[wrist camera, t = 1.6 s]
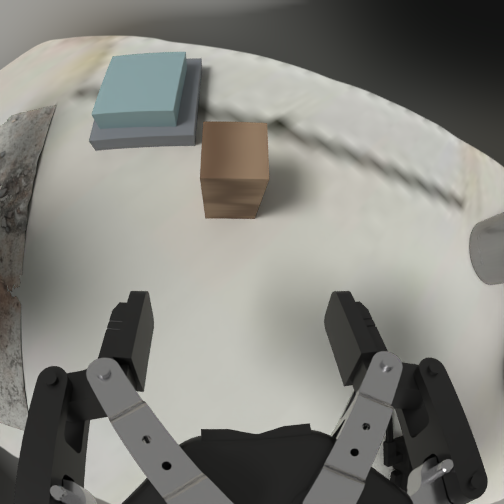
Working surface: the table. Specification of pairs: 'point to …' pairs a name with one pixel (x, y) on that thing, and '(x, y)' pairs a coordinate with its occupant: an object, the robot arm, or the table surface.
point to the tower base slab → (158, 135)
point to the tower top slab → (141, 91)
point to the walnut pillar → (233, 168)
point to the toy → (397, 458)
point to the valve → (16, 248)
